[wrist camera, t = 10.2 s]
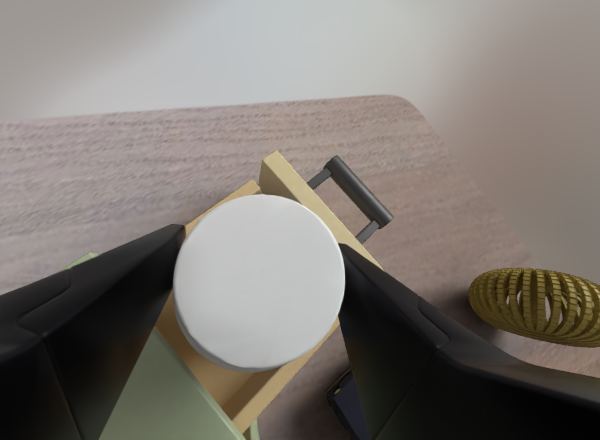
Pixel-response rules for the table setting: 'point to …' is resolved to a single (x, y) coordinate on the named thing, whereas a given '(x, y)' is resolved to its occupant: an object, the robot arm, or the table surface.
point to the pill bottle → (258, 283)
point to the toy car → (348, 407)
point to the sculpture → (539, 305)
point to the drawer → (266, 385)
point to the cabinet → (167, 399)
